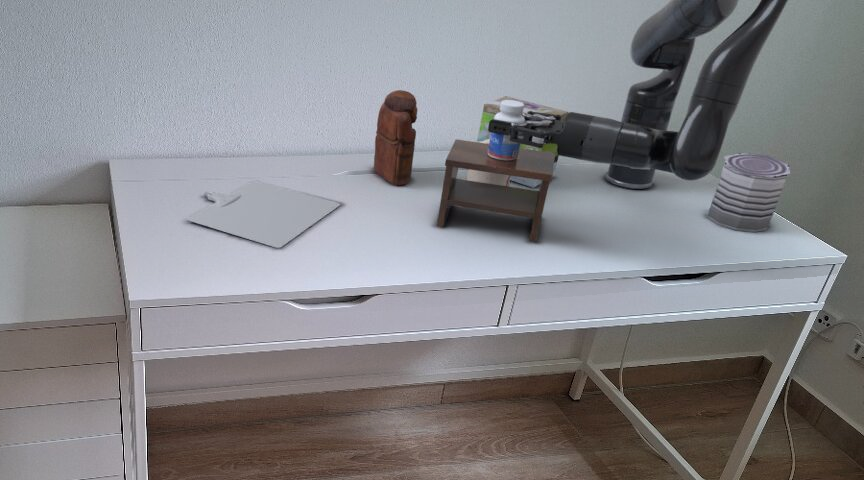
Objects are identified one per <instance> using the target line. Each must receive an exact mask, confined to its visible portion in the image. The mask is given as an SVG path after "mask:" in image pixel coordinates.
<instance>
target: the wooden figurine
mask: <svg viewBox="0 0 864 480" xmlns="http://www.w3.org/2000/svg"><path fill="white" fill-rule="evenodd" d="M417 119H418V107H417V100H416V96H415V95H414V94H412V93H411V92H409V91H407V90H402V89H399V90H394V91H391V92H389V94H387V95H386V96H385V98H384V101H383V103H382V104H381V106H380V108H379V112H378V116H377V123H376V132H375V139H374V157H373V169H374V173H376V174H377V175H379V176H380V177H382V178H383V179H384V180H386V181H387V182H388V183H390V184H391V185H393V186H404V185H406V184H408V183H409V182H410V181H411V177H412V172H413V171H412V170H413V162H414V154H415V147H416V146H415V145H416V144H415V143H416V137H417V131H416V129H415V128H413V124H415V123H416V122H417Z"/></svg>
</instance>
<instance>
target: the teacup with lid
mask: <svg viewBox="0 0 864 480" xmlns="http://www.w3.org/2000/svg"><path fill="white" fill-rule="evenodd" d="M489 142H490V139H487V140H484V141H480V142H479V143H486V144H489ZM510 177H511V176H510V175H503V174H497V173H490V172H483V171H477V170H470V169H467V172H466V178H465V180H469V181H475V182H482V183H489V184H495V185H502V186H508V187H510V181H511V180H510Z"/></svg>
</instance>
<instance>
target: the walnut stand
mask: <svg viewBox="0 0 864 480" xmlns="http://www.w3.org/2000/svg"><path fill="white" fill-rule="evenodd" d="M488 148H489V144H486V143H479V142H477V141H471V140H463V139H457V138H456V139H455V140H454V142H453V144H452V146H451V148H450V150H449V152H448V154H447V157H446V159H445V163H444V166H445V172H444V177H443V184H442V190H441V196H440V202H439V209H438V215H437V221H436V227H439V228H444V226H445V223H446V221H447V219H448V216H449V214H450V212H451V208H452V206H453V207H459V208H464V209H465V208H466V209H472V210H479V211H483V212H484V211H485V212H491V213H498V214H503V215H509V216H516V217H524V218H528V219H532V224H531V228H530V235H529V240H528V241H529V242H530V243H537V239H538V235H539V230H540V226H541V221H542V218H543V217H542V216H543V213H544V209H545V203H546V199H547V194H548V190H549V187H550V182H552V178H553V177H552V174H553V166H554V159H555V153H550V152H542V151H535V150H528V149H521V148H519V153H518V157H517V158H516V159H515V160H511V161H504V160H498V159H494V158H492V157H490V156H489V155H488ZM459 169H464V170H468V169H470V170H477V171H483V172H490V173H497V174H503V175H510V176H517V177H524V178H530V179H537V180H541V184H539V190H533V189H527V188H520V187H516V186H515V187H514V186H509V187H508V186H502V185H495V184H489V183H482V182H475V181H469V180H466V179H462V178H457V177H458V171H459Z"/></svg>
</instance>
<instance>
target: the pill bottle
mask: <svg viewBox="0 0 864 480" xmlns="http://www.w3.org/2000/svg"><path fill="white" fill-rule="evenodd" d="M523 109H524V104H523V103H522V102H519V101H515V100H504V101H502V102H501V105H500V111H501V112H499V113H497V114H496V115H495V117H494V119H496V120H501V121H507V122H512V123H514V122H515V123H524V122H525V118H524V117H523V116H522V115H521V113H522V112H523ZM522 133H523V132H519V131H518V134H522ZM509 139H510V138H509V135H508V136H507V135H502V134H497V133H491V137H490V142H489V148H488V155H489V156H490V157H492V158H494V159H498V160H504V161H511V160H515V159H516V158H517V157H518V153H519V148H520V143H516V142H512V141H510V140H509Z"/></svg>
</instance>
